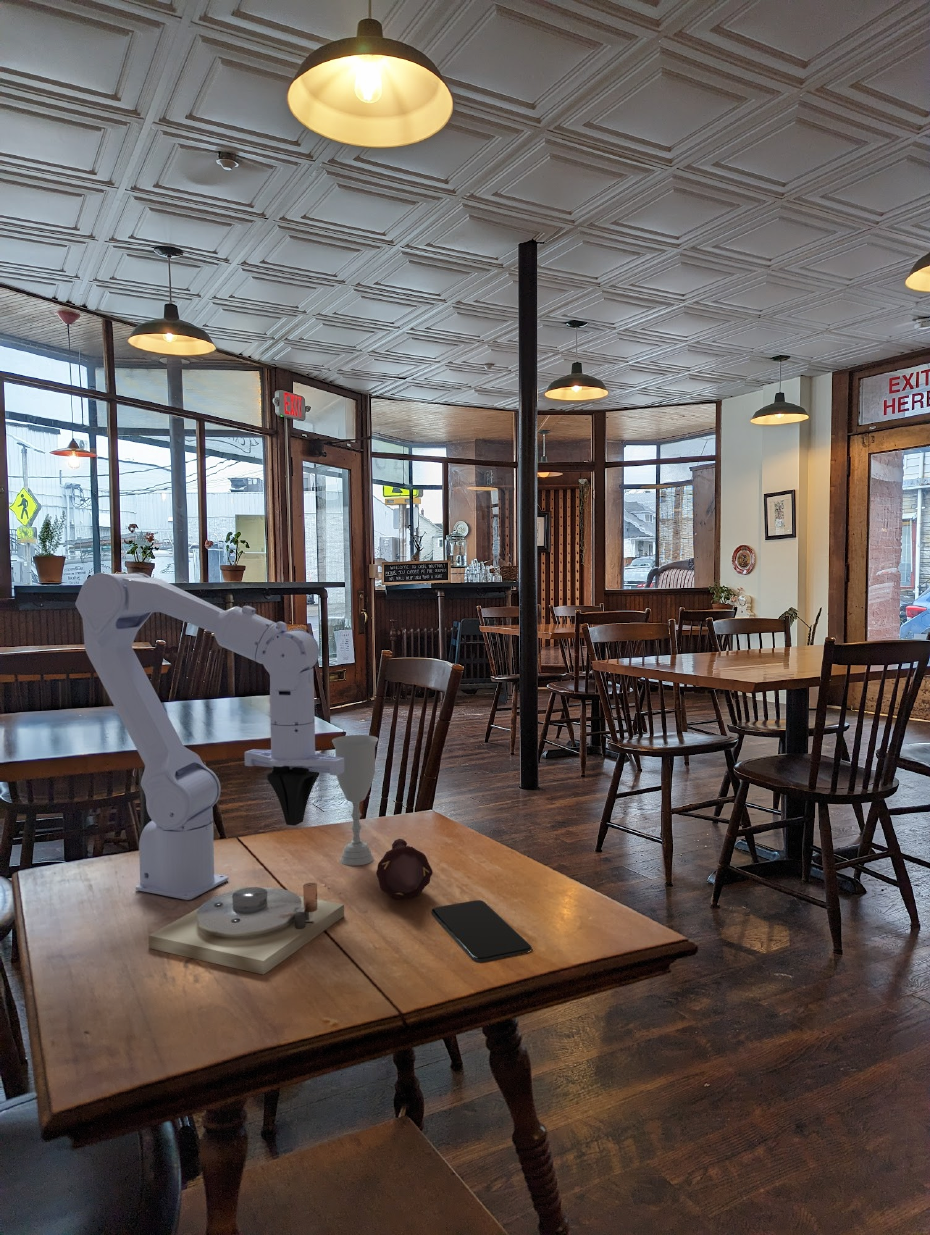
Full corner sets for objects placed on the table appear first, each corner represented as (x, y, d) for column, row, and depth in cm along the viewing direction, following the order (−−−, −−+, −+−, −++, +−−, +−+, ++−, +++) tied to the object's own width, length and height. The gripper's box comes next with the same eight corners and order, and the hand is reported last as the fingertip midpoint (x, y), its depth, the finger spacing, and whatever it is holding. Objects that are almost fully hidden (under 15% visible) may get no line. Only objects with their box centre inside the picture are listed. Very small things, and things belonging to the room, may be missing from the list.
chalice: (376, 868, 117) (374, 744, 116) (329, 868, 117) (327, 745, 116) (382, 851, 125) (380, 734, 124) (338, 851, 125) (336, 735, 124)
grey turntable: (178, 934, 92) (177, 899, 91) (224, 892, 104) (224, 862, 103) (299, 941, 90) (298, 906, 89) (333, 898, 101) (332, 867, 101)
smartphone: (535, 955, 91) (482, 904, 105) (535, 948, 91) (482, 898, 105) (475, 968, 88) (428, 914, 102) (475, 960, 88) (428, 907, 102)
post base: (148, 948, 93) (148, 922, 93) (240, 896, 107) (239, 874, 107) (263, 974, 86) (263, 947, 86) (344, 916, 101) (343, 892, 101)
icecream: (447, 864, 101) (426, 837, 115) (390, 854, 99) (375, 828, 114) (435, 921, 100) (415, 886, 115) (377, 912, 99) (364, 878, 113)
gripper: (228, 723, 107) (230, 825, 107) (322, 731, 101) (324, 838, 102) (262, 714, 113) (264, 810, 114) (352, 721, 107) (353, 822, 108)
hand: (294, 823), depth 108 cm, fingers closed
